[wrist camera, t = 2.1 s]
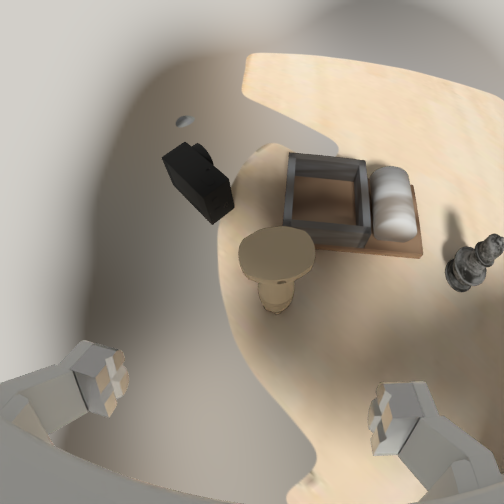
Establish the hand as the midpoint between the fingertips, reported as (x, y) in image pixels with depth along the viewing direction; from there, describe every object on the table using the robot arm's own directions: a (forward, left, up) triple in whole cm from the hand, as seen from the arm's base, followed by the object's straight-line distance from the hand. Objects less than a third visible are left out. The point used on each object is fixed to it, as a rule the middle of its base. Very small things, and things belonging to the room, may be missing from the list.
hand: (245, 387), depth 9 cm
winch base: (+25, -10, -29) cm, 40 cm away
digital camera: (+27, +12, -30) cm, 42 cm away
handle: (+11, 0, -30) cm, 32 cm away
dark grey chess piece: (+17, -27, -30) cm, 44 cm away
